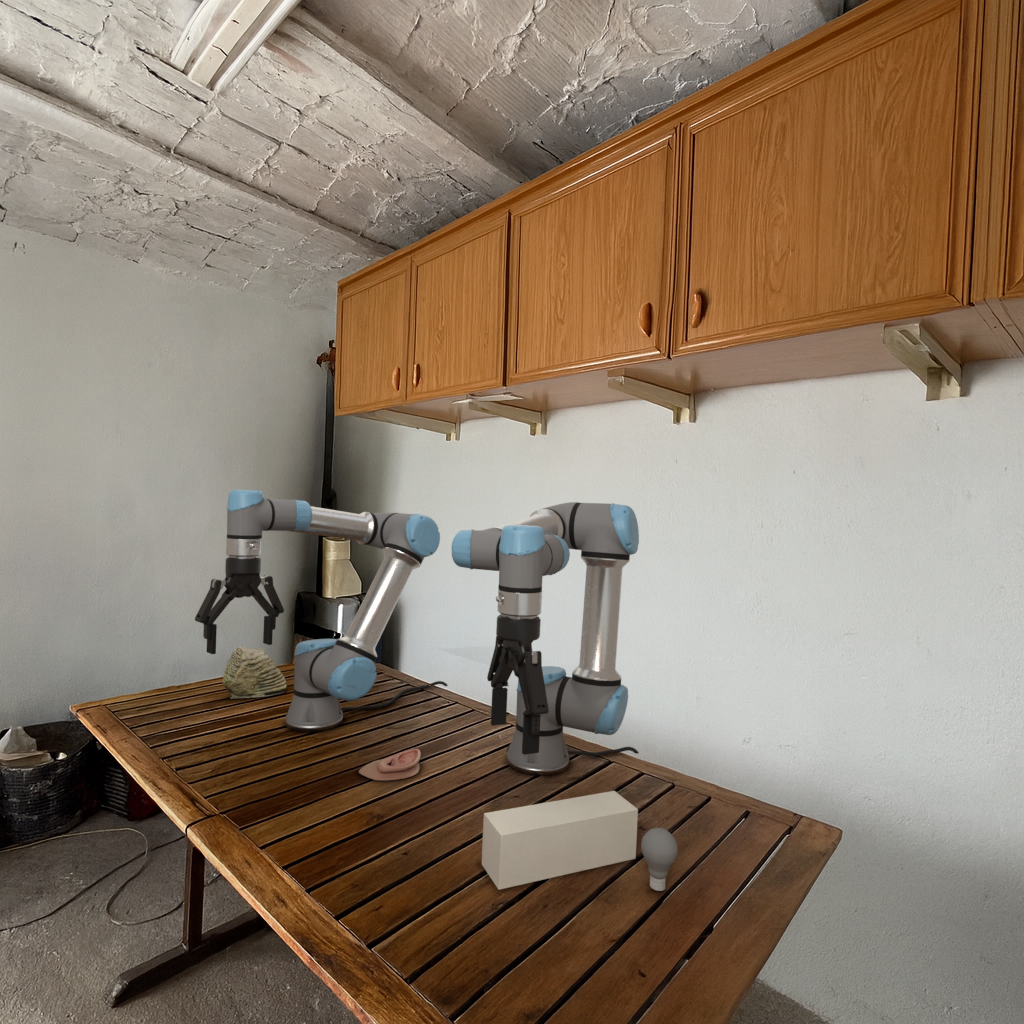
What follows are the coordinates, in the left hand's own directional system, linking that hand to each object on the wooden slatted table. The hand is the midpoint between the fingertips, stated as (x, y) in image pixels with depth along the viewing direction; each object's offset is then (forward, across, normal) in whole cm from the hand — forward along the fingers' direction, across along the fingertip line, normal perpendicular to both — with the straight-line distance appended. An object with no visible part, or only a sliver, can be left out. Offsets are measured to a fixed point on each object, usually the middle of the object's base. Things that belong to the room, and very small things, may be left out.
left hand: (240, 648), depth 146 cm
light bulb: (+27, +24, -94) cm, 101 cm away
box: (+27, +19, -78) cm, 85 cm away
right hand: (+4, +10, -73) cm, 74 cm away
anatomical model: (+27, +23, -28) cm, 45 cm away
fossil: (+27, +30, +45) cm, 60 cm away
